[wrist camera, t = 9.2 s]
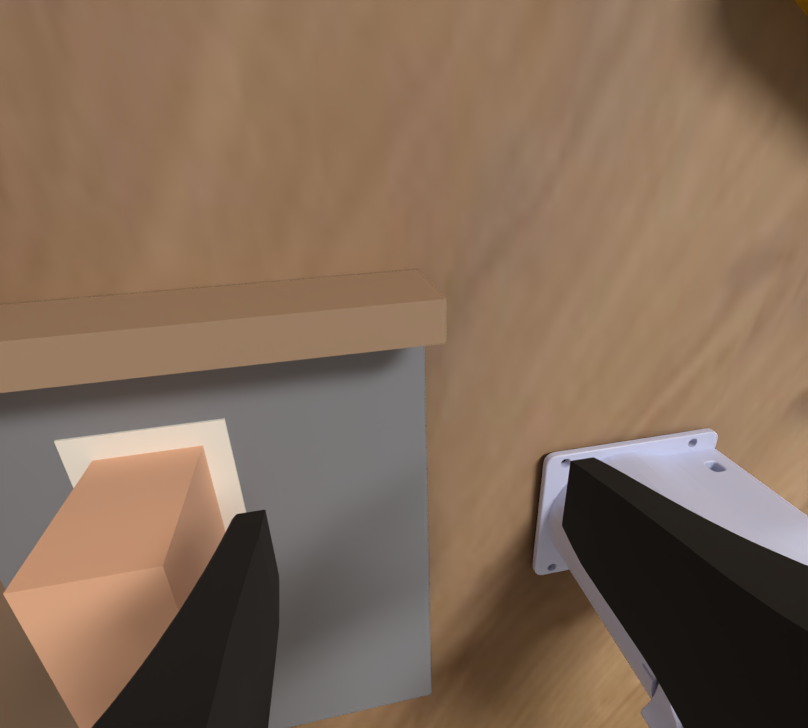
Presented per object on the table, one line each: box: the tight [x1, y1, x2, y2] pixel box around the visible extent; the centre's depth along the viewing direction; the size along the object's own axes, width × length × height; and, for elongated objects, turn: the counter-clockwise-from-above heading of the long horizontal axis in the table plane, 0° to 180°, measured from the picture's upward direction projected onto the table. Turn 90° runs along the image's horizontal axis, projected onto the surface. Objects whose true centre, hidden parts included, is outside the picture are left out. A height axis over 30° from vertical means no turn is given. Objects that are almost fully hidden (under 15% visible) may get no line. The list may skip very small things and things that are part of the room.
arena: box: [0, 269, 446, 728], centre depth 20 cm, size 20×26×4 cm
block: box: [3, 445, 225, 728], centre depth 17 cm, size 7×4×6 cm, turn 2°
